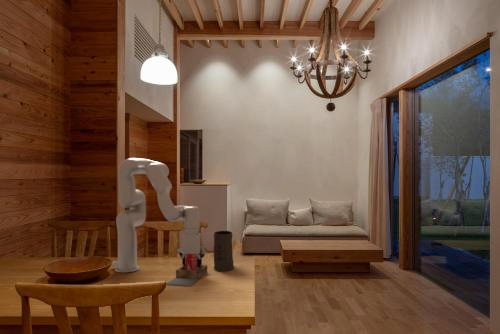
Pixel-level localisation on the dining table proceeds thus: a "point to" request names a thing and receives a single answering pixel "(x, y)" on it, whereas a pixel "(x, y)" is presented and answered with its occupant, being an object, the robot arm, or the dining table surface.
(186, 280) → the mat
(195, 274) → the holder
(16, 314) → the dining table surface
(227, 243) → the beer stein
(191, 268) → the soda can
